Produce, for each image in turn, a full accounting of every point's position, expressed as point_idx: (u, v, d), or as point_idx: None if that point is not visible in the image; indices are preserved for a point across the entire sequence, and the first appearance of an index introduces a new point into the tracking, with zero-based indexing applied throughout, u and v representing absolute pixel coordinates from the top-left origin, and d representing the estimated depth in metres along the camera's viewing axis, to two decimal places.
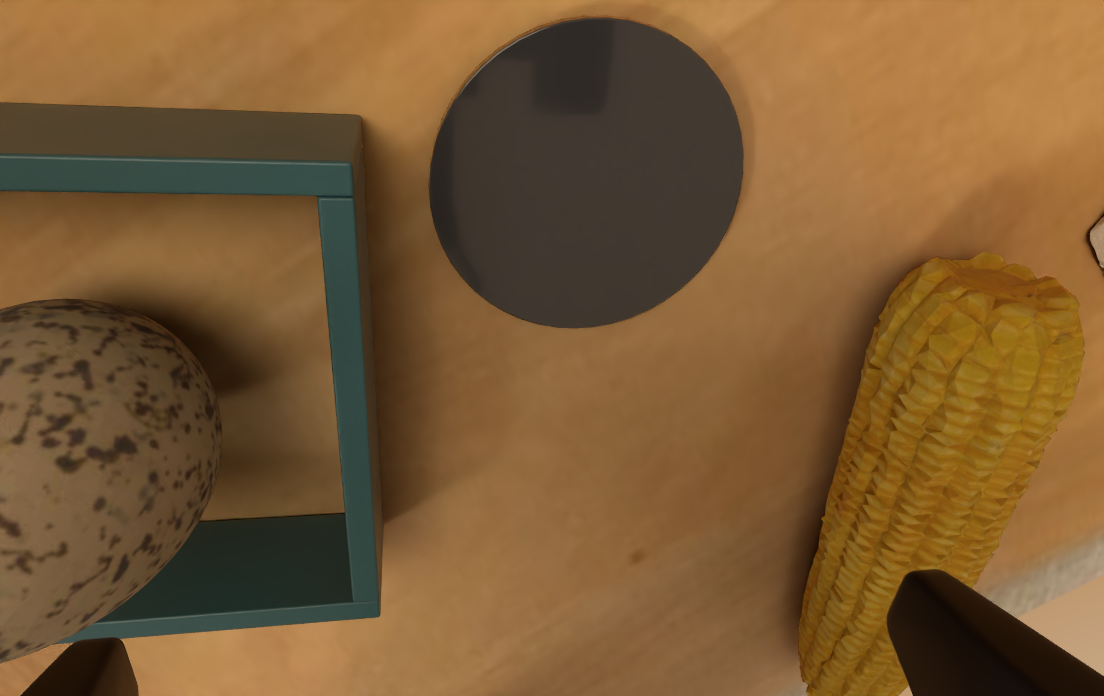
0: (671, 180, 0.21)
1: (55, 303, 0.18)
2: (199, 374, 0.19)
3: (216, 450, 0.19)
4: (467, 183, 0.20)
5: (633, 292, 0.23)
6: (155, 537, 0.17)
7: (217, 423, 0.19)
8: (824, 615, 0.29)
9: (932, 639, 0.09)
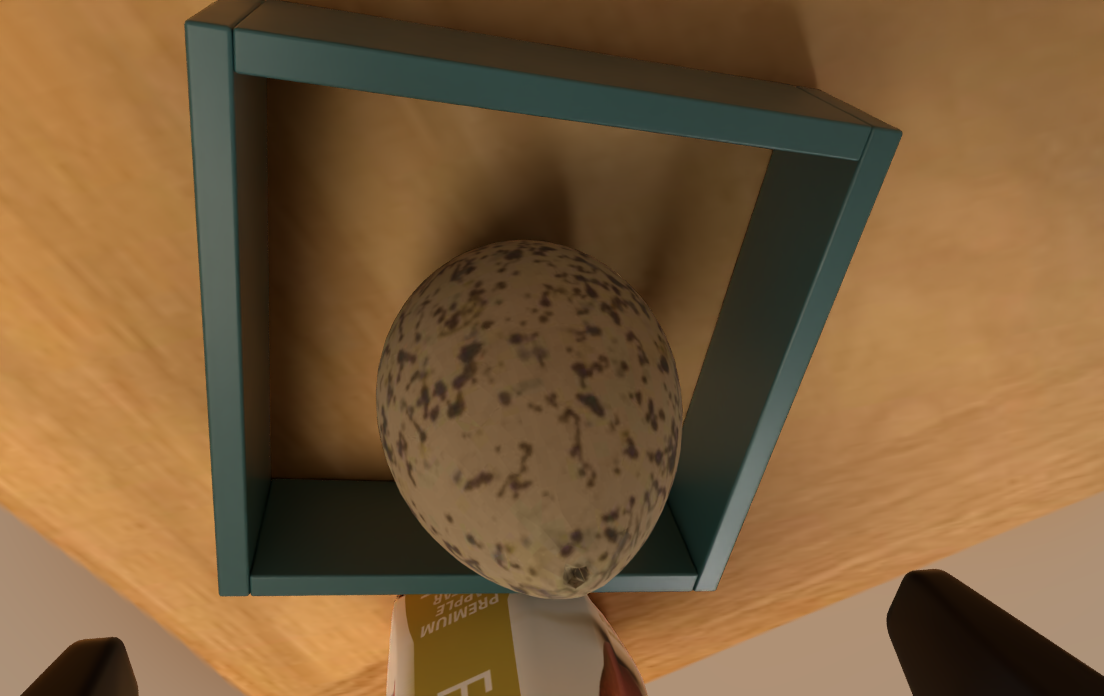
0: None
1: None
2: (482, 250, 0.17)
3: (558, 262, 0.16)
4: None
5: None
6: (583, 359, 0.14)
7: (536, 250, 0.17)
8: None
9: (932, 639, 0.09)
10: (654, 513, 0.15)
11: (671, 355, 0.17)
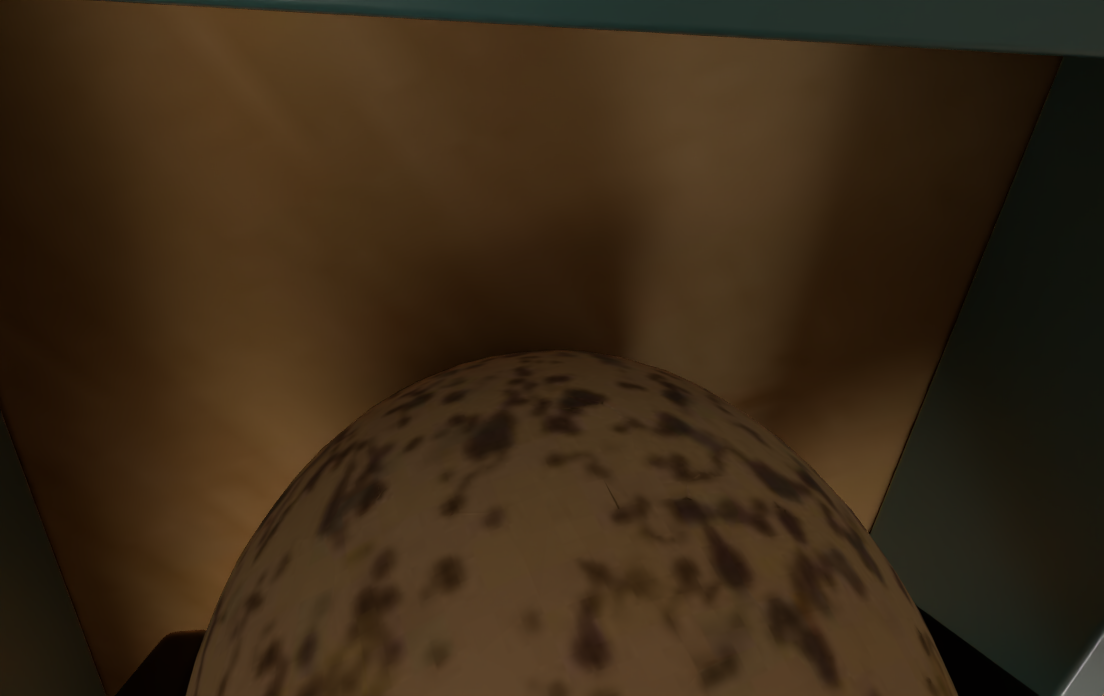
0: None
1: None
2: (415, 412, 0.07)
3: (617, 454, 0.06)
4: None
5: None
6: None
7: (552, 413, 0.06)
8: None
9: None
10: None
11: None
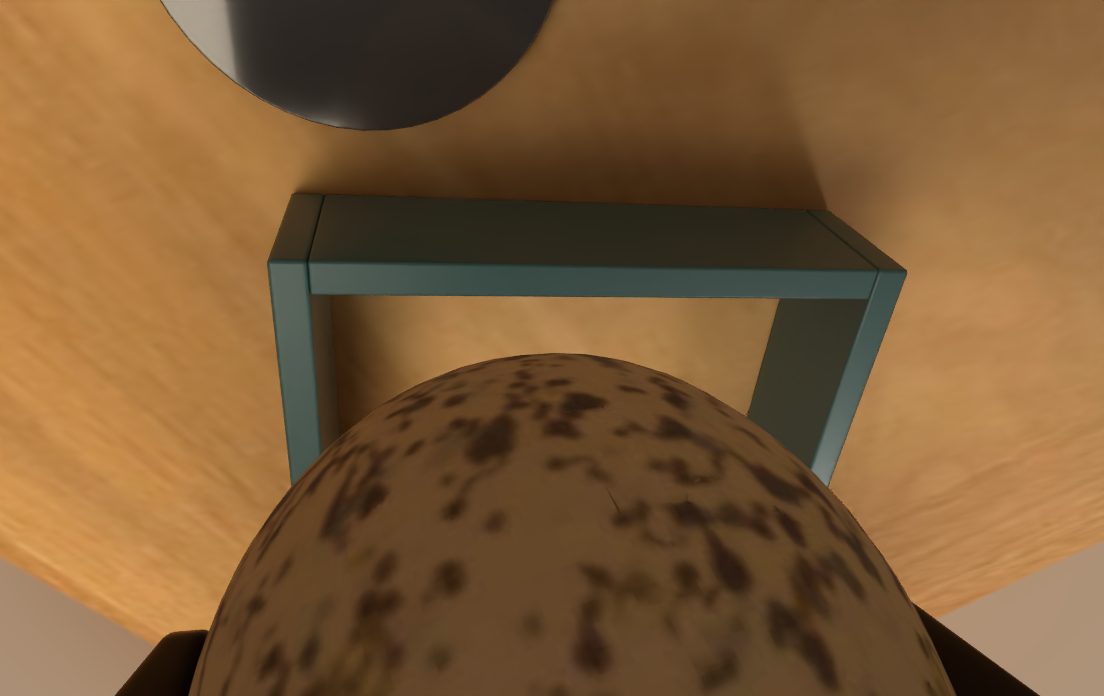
0: None
1: None
2: (416, 415, 0.07)
3: (617, 458, 0.06)
4: (355, 85, 0.17)
5: None
6: None
7: (553, 417, 0.06)
8: None
9: None
10: None
11: (943, 667, 0.06)
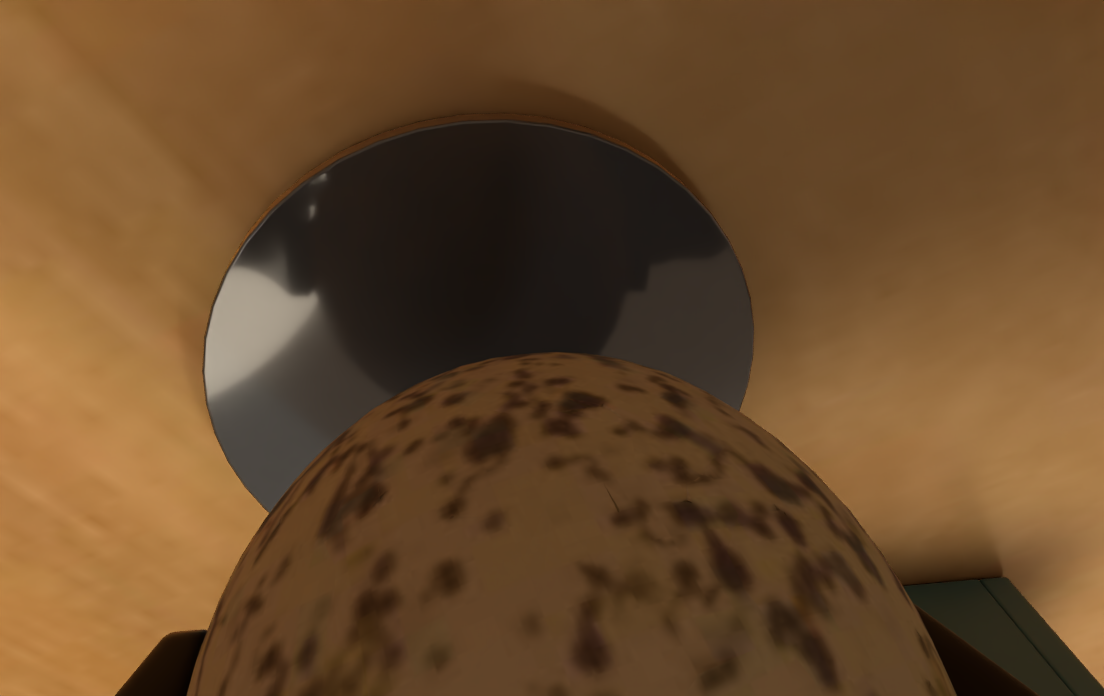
0: (478, 267, 0.11)
1: None
2: (415, 414, 0.07)
3: (616, 457, 0.06)
4: None
5: (698, 301, 0.12)
6: None
7: (552, 416, 0.06)
8: None
9: None
10: None
11: None
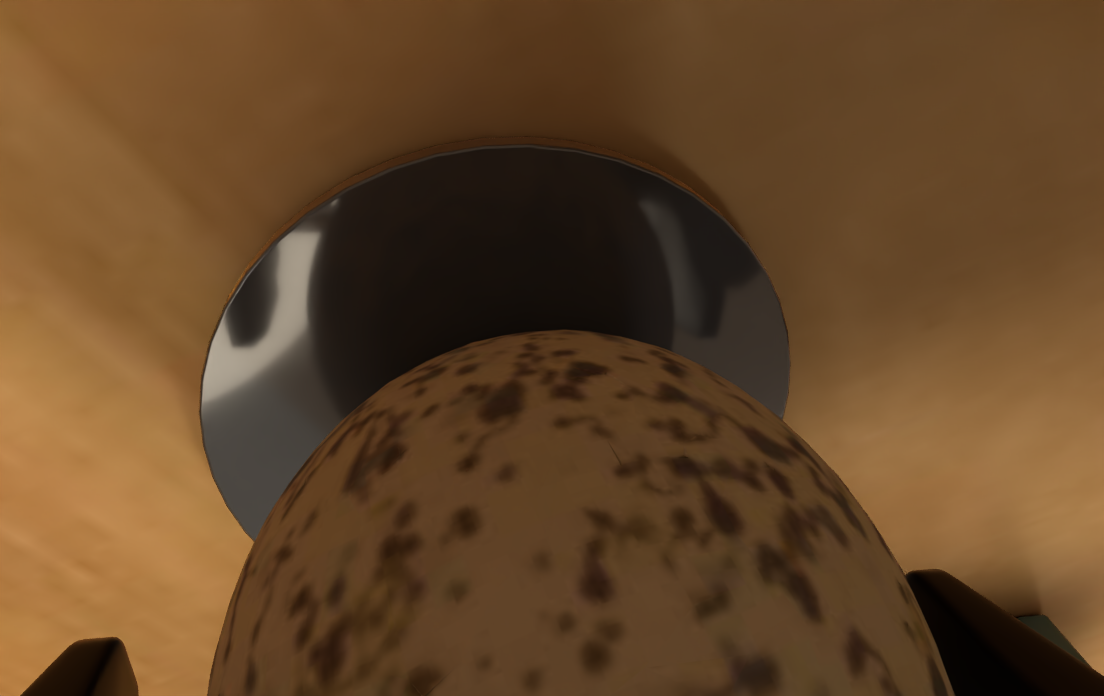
0: (496, 301, 0.10)
1: None
2: (430, 383, 0.07)
3: (619, 418, 0.06)
4: None
5: (731, 336, 0.11)
6: None
7: (559, 382, 0.07)
8: None
9: None
10: None
11: (923, 616, 0.07)
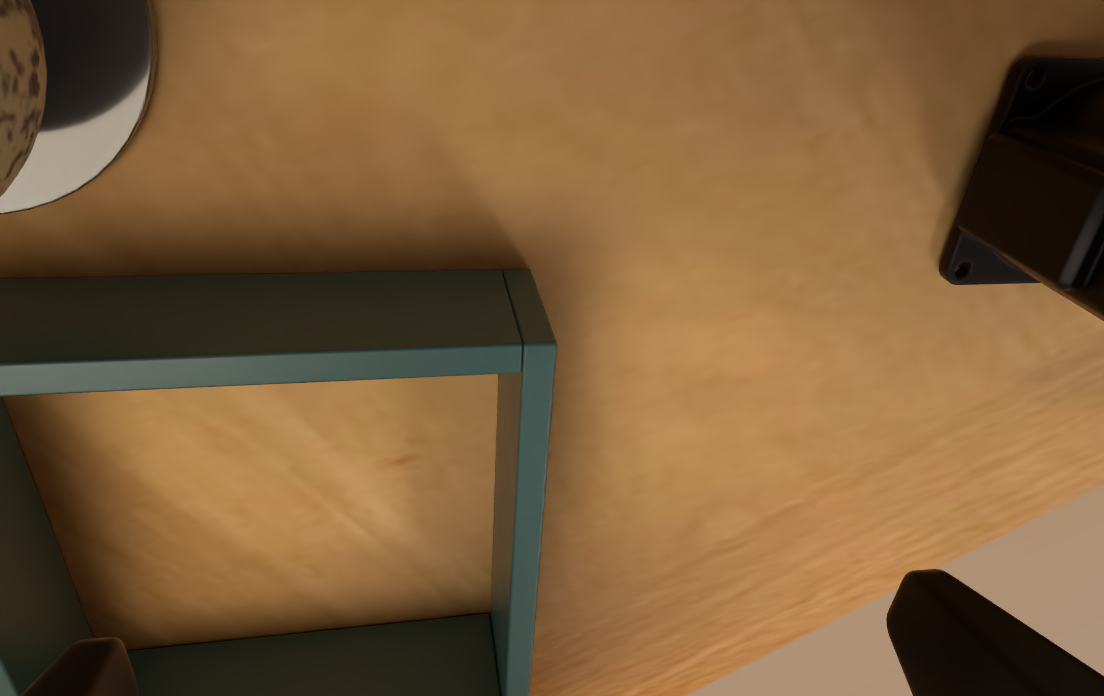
0: None
1: None
2: None
3: None
4: None
5: None
6: None
7: None
8: None
9: (932, 639, 0.09)
10: None
11: None
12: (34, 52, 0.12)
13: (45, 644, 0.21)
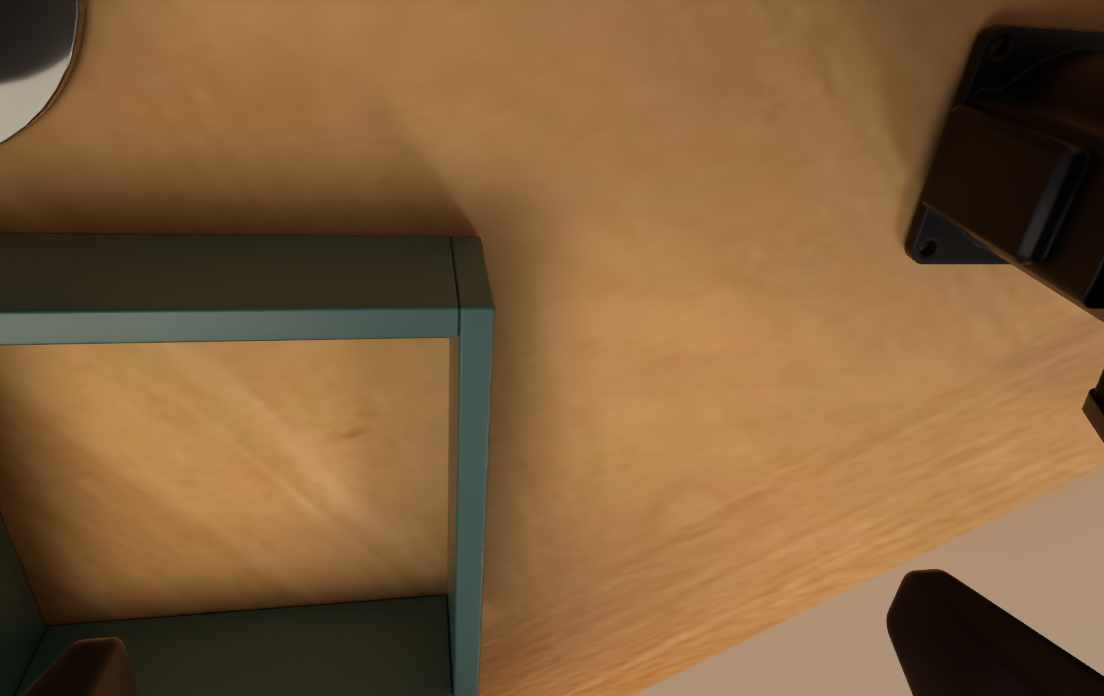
0: None
1: None
2: None
3: None
4: None
5: None
6: None
7: None
8: None
9: (932, 639, 0.09)
10: None
11: None
12: None
13: None
